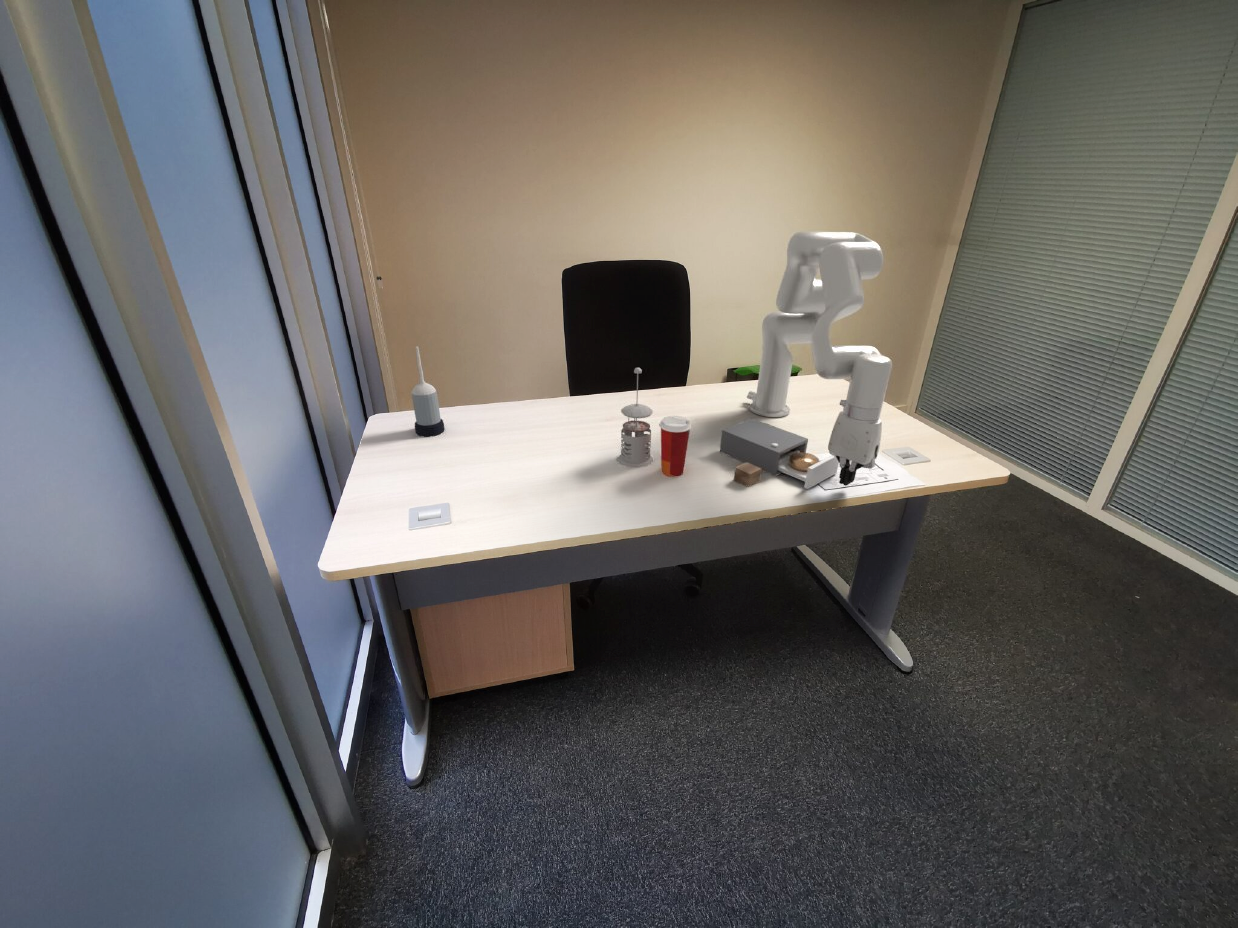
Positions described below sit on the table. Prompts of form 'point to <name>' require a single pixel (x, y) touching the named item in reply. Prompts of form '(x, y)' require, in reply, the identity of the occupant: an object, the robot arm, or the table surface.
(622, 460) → the french press
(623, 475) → the table surface
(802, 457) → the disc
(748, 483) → the brown wooden cube
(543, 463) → the table surface
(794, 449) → the player
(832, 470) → the tray
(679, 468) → the paper cup
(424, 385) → the grey bottle with nozzle
